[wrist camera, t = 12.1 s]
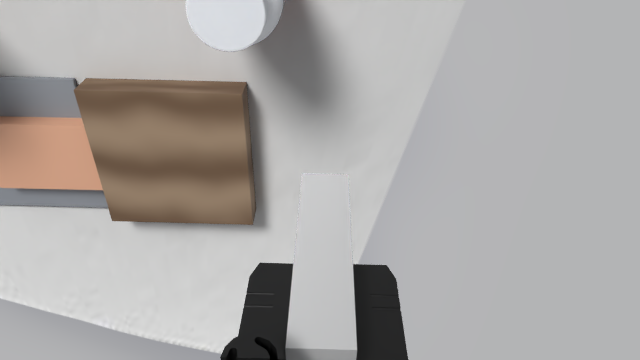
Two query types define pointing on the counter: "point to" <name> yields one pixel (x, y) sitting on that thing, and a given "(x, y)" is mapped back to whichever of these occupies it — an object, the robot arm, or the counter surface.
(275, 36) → the counter surface
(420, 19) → the counter surface
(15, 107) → the mat
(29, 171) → the card
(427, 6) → the counter surface
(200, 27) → the pill bottle
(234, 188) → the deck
